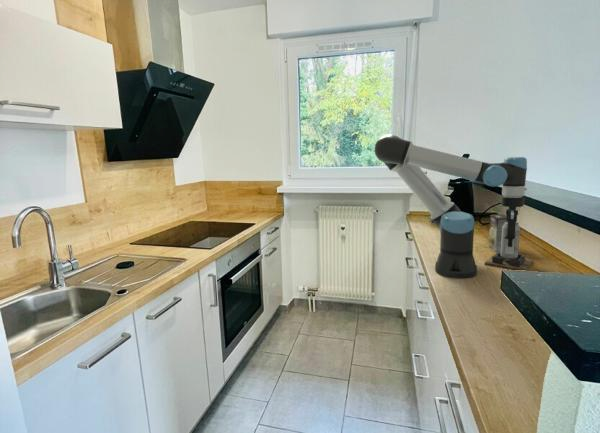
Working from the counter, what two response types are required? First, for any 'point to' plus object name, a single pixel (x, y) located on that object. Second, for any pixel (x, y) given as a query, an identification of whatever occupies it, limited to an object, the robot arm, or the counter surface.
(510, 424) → the counter surface
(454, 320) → the counter surface
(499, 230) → the coffee box
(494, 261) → the socket board
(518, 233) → the energy drink can
